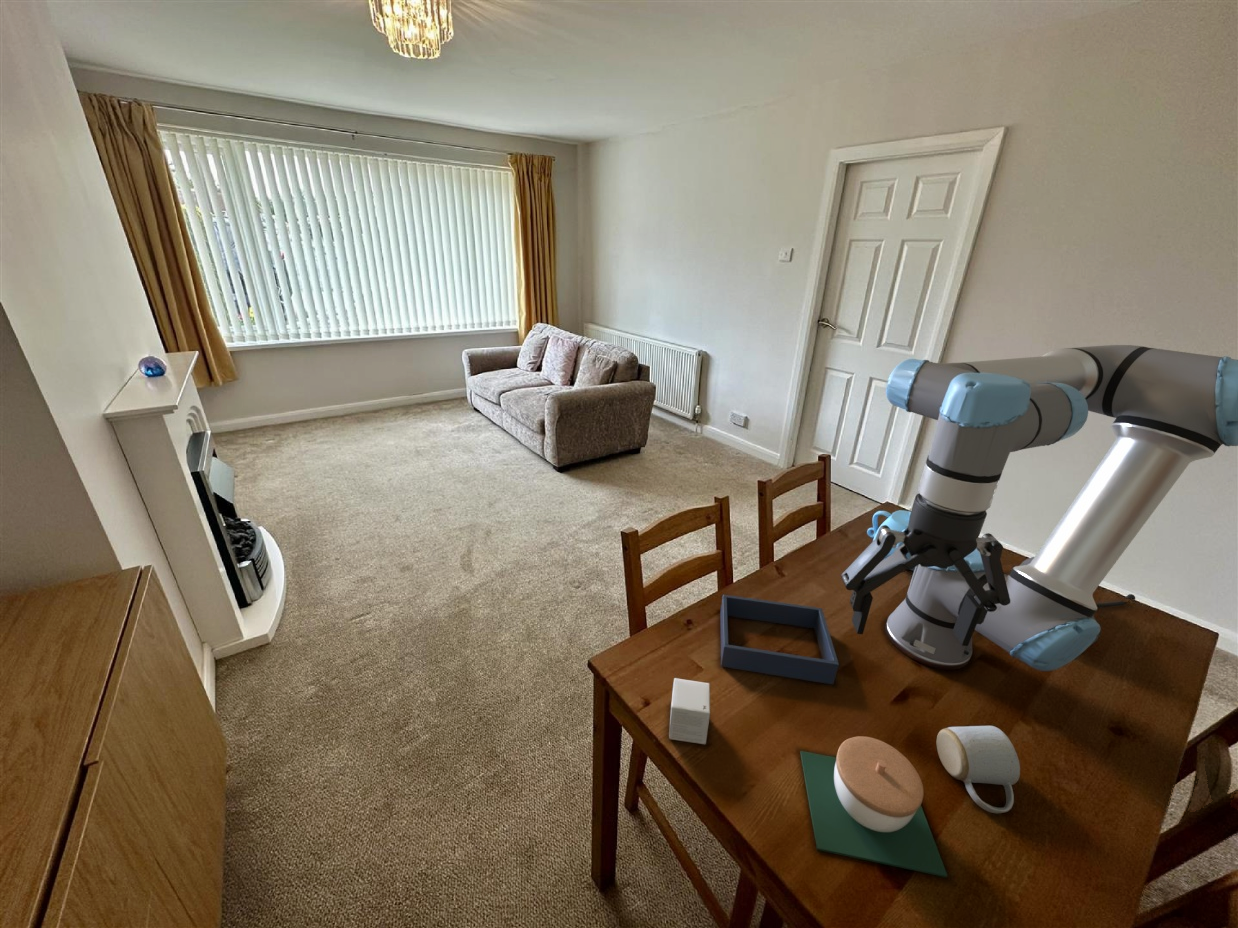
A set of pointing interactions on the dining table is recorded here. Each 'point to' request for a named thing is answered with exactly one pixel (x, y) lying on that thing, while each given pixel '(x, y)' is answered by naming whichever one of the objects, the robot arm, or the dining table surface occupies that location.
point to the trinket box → (876, 784)
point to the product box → (690, 711)
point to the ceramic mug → (980, 760)
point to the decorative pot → (891, 525)
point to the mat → (855, 840)
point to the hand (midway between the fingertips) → (907, 633)
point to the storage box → (776, 661)
